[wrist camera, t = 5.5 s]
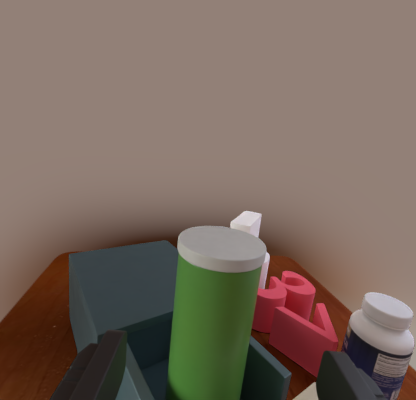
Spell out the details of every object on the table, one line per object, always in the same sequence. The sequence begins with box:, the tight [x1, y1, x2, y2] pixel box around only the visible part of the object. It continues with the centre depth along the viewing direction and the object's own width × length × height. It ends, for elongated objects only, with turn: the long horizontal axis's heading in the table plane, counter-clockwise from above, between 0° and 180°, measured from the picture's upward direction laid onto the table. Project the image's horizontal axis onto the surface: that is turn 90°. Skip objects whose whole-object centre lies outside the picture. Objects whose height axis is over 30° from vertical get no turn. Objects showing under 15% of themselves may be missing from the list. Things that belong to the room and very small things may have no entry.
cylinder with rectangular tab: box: [230, 211, 270, 289], centre depth 42 cm, size 9×9×12 cm
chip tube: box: [165, 226, 266, 400], centre depth 18 cm, size 6×6×15 cm
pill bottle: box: [341, 292, 414, 400], centre depth 25 cm, size 5×5×10 cm
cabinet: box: [69, 240, 179, 353], centre depth 28 cm, size 15×13×9 cm
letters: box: [252, 271, 339, 378], centre depth 32 cm, size 14×10×5 cm
